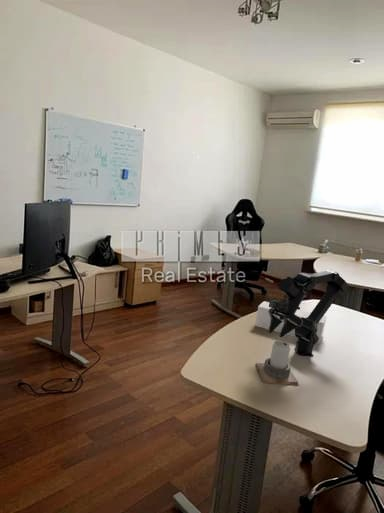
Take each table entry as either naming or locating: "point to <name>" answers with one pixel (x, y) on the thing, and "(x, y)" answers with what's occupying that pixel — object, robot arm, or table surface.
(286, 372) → the can holder
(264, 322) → the white foam block
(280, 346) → the beverage can
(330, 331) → the table surface
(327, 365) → the table surface
